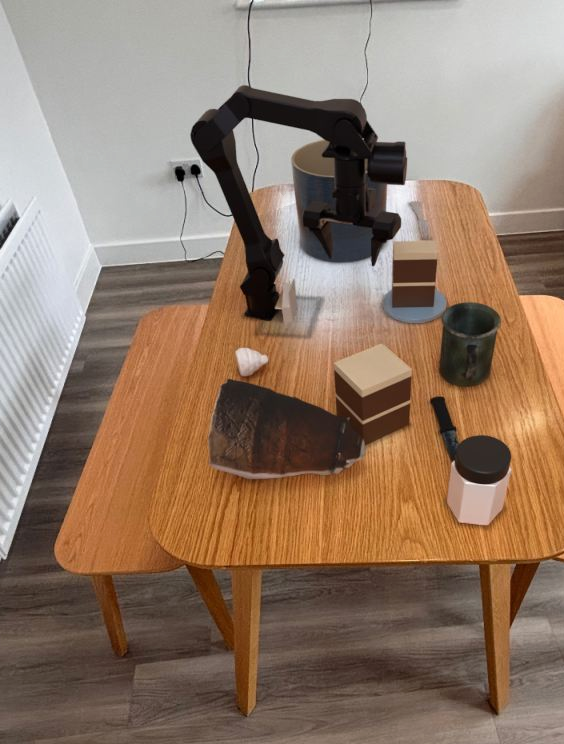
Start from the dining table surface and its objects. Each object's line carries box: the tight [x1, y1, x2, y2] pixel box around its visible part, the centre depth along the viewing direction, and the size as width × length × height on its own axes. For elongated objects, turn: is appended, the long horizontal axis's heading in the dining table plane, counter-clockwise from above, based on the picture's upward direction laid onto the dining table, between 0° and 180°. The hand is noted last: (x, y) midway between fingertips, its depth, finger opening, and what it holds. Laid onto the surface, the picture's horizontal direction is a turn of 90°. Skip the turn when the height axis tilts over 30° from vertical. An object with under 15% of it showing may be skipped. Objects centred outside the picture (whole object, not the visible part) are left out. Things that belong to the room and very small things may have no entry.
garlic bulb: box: [234, 347, 269, 378], centre depth 126 cm, size 6×6×5 cm
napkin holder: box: [275, 278, 298, 324], centre depth 138 cm, size 3×7×7 cm, turn 172°
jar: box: [446, 434, 512, 526], centre depth 99 cm, size 9×8×12 cm
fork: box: [409, 201, 431, 241], centre depth 168 cm, size 3×21×3 cm, turn 5°
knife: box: [430, 395, 460, 463], centre depth 113 cm, size 21×1×3 cm
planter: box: [290, 139, 388, 263], centre depth 154 cm, size 22×22×20 cm
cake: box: [333, 342, 413, 446], centre depth 113 cm, size 9×10×12 cm
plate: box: [382, 288, 448, 324], centre depth 142 cm, size 14×14×1 cm
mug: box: [438, 301, 502, 388], centre depth 120 cm, size 11×15×12 cm
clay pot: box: [206, 378, 367, 480], centre depth 107 cm, size 15×15×25 cm
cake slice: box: [391, 240, 439, 308], centre depth 136 cm, size 9×5×12 cm, turn 89°
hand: (352, 261), depth 129 cm, fingers open, 9 cm apart
